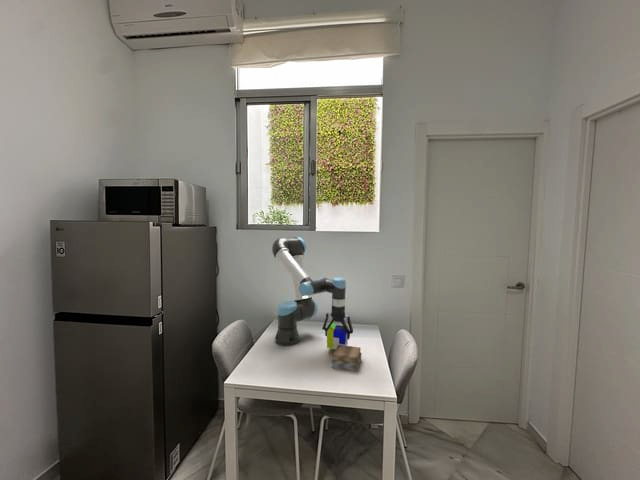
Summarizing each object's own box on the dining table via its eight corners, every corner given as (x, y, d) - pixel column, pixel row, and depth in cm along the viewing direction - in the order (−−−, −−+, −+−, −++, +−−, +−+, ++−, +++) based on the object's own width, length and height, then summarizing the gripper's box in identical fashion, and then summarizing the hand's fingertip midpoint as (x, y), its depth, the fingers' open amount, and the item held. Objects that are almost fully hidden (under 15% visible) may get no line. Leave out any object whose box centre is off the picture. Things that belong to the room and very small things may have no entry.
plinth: (332, 367, 156) (332, 354, 155) (337, 356, 168) (337, 344, 168) (357, 371, 152) (357, 358, 152) (361, 359, 165) (361, 347, 164)
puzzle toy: (344, 350, 170) (345, 332, 169) (326, 348, 172) (327, 330, 171) (346, 342, 180) (347, 326, 179) (330, 340, 182) (330, 324, 181)
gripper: (317, 305, 173) (316, 342, 175) (357, 309, 167) (355, 348, 169) (320, 301, 180) (319, 337, 182) (359, 305, 174) (358, 343, 176)
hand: (337, 343), depth 176 cm, fingers closed on puzzle toy, 10 cm apart
